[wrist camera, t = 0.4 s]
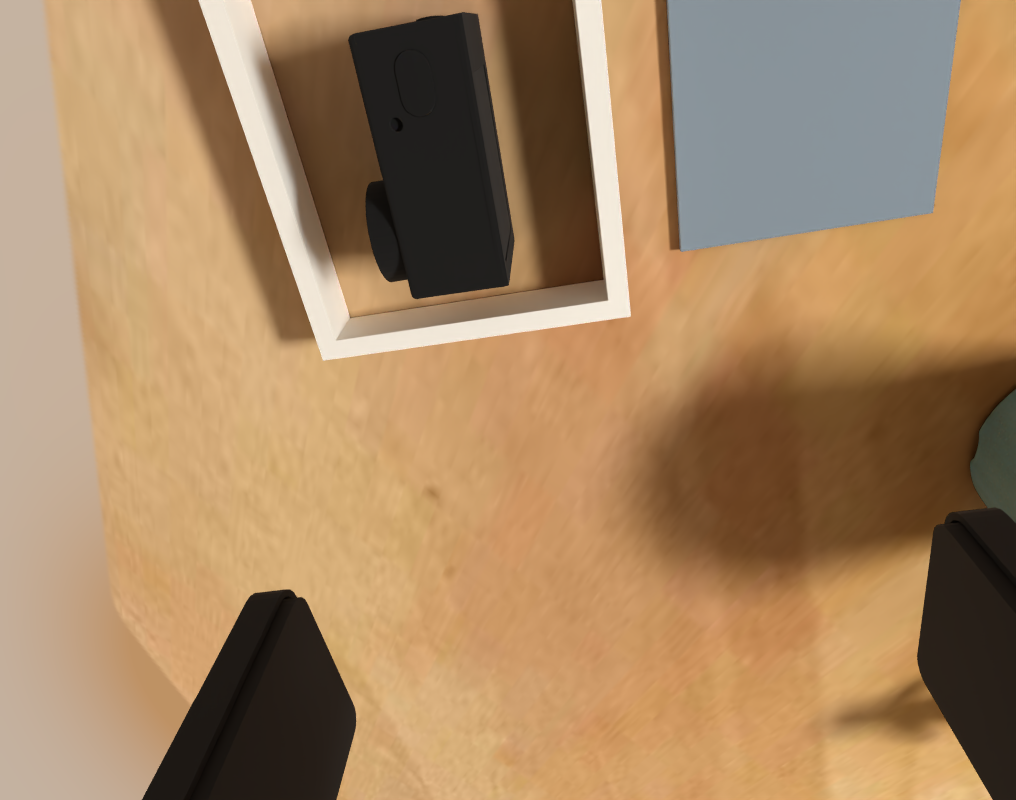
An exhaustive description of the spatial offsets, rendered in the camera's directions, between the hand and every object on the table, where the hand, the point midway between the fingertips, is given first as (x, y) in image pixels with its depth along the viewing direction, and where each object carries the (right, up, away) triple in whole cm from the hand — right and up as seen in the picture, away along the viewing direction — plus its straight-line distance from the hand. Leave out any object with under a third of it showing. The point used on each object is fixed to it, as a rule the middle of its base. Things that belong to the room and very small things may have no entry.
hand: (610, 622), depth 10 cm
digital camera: (-5, +16, +23) cm, 28 cm away
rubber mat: (+12, +18, +20) cm, 29 cm away
